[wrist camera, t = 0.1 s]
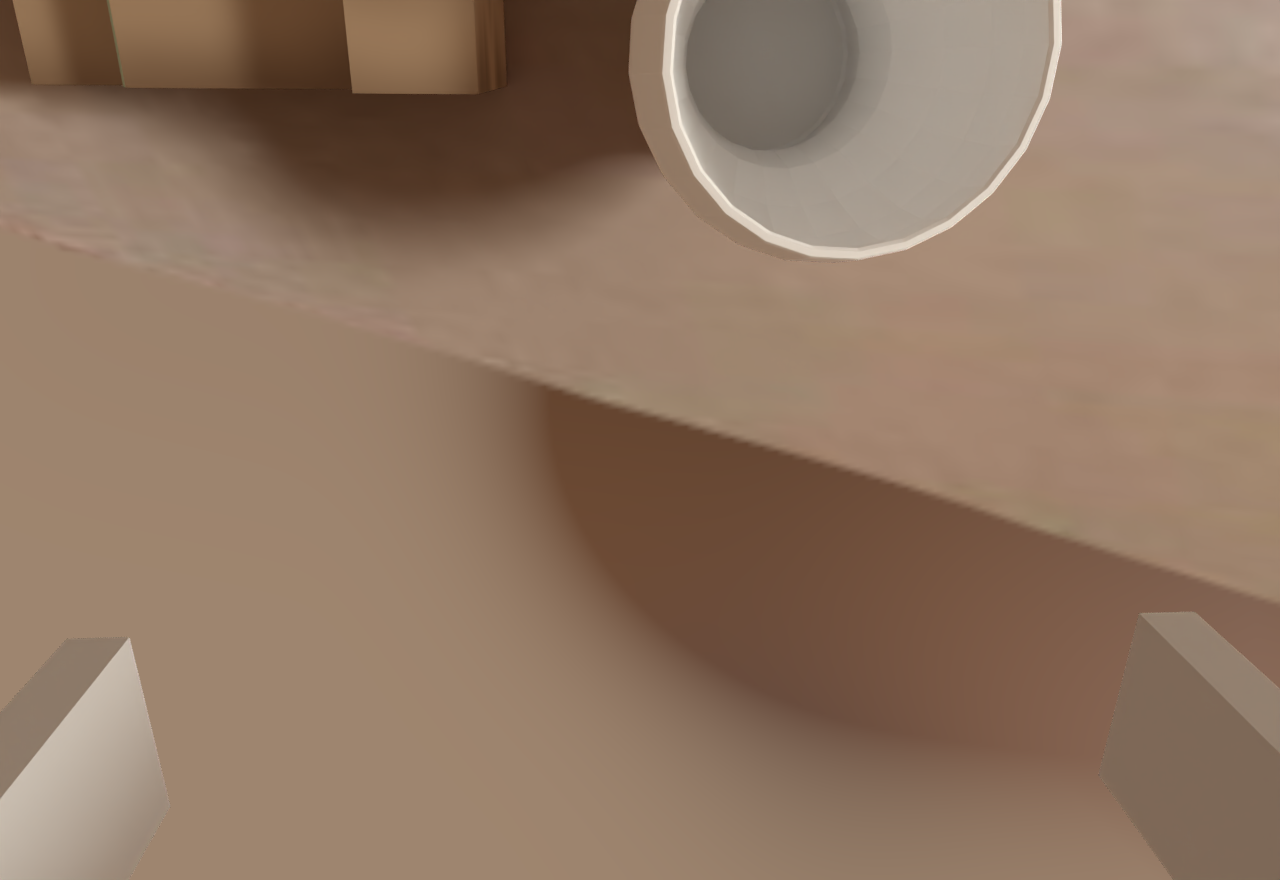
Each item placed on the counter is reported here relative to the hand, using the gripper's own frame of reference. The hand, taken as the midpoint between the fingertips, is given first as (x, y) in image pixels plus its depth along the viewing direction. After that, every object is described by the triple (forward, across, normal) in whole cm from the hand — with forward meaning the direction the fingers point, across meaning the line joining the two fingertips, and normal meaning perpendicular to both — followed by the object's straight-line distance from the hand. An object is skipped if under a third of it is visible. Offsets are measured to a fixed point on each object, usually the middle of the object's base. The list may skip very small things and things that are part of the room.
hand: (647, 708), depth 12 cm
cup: (+28, +6, +8) cm, 30 cm away
